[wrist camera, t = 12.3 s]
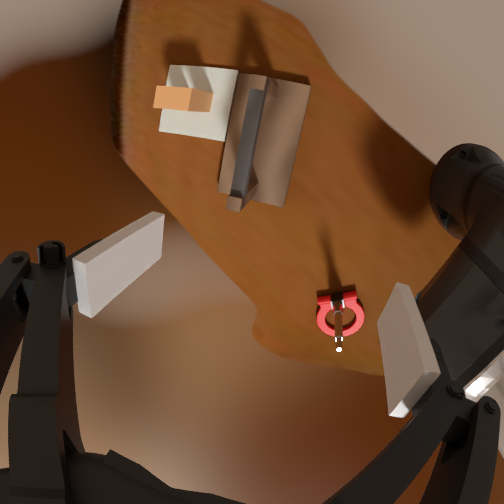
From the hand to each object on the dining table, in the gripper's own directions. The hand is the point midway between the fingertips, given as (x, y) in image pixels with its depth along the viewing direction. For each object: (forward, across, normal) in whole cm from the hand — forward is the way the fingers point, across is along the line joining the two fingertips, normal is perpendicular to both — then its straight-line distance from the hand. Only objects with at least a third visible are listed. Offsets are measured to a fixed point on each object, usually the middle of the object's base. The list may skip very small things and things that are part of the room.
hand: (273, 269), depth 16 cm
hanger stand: (+29, +8, -4) cm, 31 cm away
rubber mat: (+29, +19, -8) cm, 36 cm away
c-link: (+28, +19, -8) cm, 35 cm away
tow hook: (+31, -12, +21) cm, 39 cm away
